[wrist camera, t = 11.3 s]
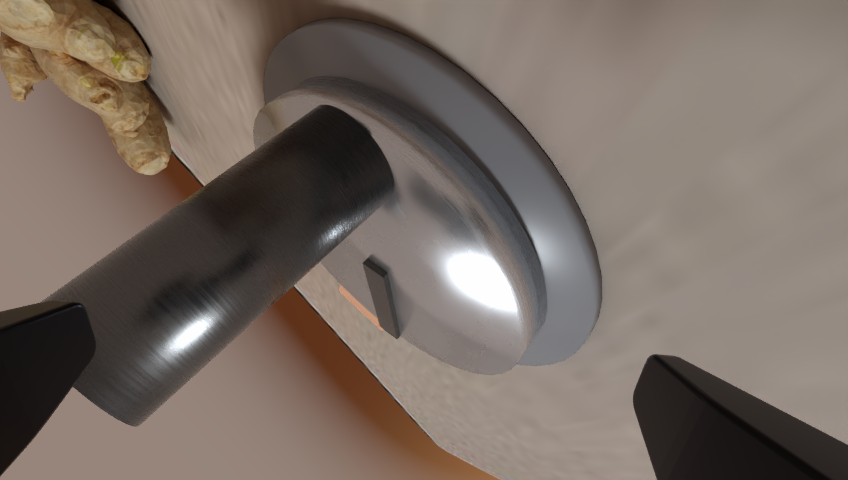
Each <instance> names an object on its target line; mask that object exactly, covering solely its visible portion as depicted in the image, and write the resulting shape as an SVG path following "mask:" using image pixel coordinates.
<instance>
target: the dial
mask: <svg viewBox="0 0 848 480" xmlns="http://www.w3.org/2000/svg"><path fill="white" fill-rule="evenodd" d="M253 133H254V145H255V151H253V152H252V153H251V154H249V155H248V156H246V157H245V158H243V159H242V160H241V161H239V162H238V163H236V164H235V165H234V166H232V167H231V168H229V169H228V170H227V171H225V172H224V173H222V174H221V175H219V176H218V177H217V178H215V179H214V180H212V181H211V182H210V183H208V184H207V185H205V186H204V187H203V188H201V189H200V190H198V191H197V192H196V193H194V194H193V195H191V196H190V197H189V198H187V199H186V200H184V201H183V202H181V203H180V204H179V205H177V206H176V207H174V208H173V209H171V210H170V211H169V212H167V213H166V214H164V215H163V216H162V217H160V218H159V219H157V220H156V221H155V222H153V223H152V224H150V225H149V226H147V227H146V228H145V229H143V230H142V231H140V232H139V233H138V234H136V235H135V236H133V237H132V238H131V239H129V240H128V241H126V242H125V243H123V244H122V245H121V246H119V247H118V248H116V249H115V250H114V251H112V252H111V253H109V254H108V255H107V256H105V257H104V258H102V259H101V260H100V261H98V262H97V263H95V264H94V265H92V266H91V267H90V268H88V269H87V270H86V271H84V272H83V273H81V274H80V275H79V276H77V277H75V278H74V279H73V280H71V281H70V282H69V283H67V284H66V285H64V286H63V287H61V288H60V289H58V290H57V291H56V292H54V293H53V294H51V295H50V296H49V297H47V298H46V299H44V300H43V301H42V302H45V301H50V300H65V301H76V302H79V303H81V304H82V305H83V306H84V307H85V309H86V311H87V314H88V317H89V320H90V323H91V327H92V330H93V333H94V336H95V339H96V351H95V355H94V357H93V359H92V361H91V362H90V364H89V365H88V366H87V368H86V369H85V370H84V372H83V373H82V374H81V376H80V377H79V379H78V380H77V381H76V383H75V384H74V385H73V387H74V388H75V389H77V390H78V391H79V392H80V393H81V394H82V395H84V396H85V397H86V398H87V399H89V400H90V401H91V402H93V403H94V404H95V405H97V406H98V407H99V408H101V409H102V410H104V411H105V412H107V413H108V414H110V415H111V416H113V417H114V418H116V419H118V420H120V421H122V422H124V423H126V424H128V425H131V426H139V425H140V424H142V423H143V422H144V421H145V420H146V419H147V418H148V417H149V416H150V415H151V414H153V413H154V412H155V411H156V410H157V409H158V408H159V407H160V406H161V405H162V404H164V403H165V402H166V401H167V400H168V399H169V398H170V397H171V396H172V395H174V394H175V393H176V392H177V391H178V390H179V389H180V388H181V387H182V386H183V385H185V384H186V383H187V382H188V381H189V380H190V379H191V378H192V377H193V376H194V375H196V374H197V373H198V372H199V371H200V370H201V369H202V368H203V367H204V366H205V365H207V364H208V363H209V362H210V361H211V360H212V359H213V358H214V357H215V356H216V355H218V354H219V353H220V352H221V351H222V350H223V349H224V348H225V347H226V346H227V345H229V343H231V342H232V341H233V340H234V339H235V338H236V337H237V336H238V335H239V334H241V333H242V332H243V331H244V330H245V329H246V328H247V327H248V326H249V325H251V324H252V323H253V322H254V321H255V320H256V319H257V318H258V317H259V316H261V315H262V314H263V313H264V312H265V311H266V310H267V309H268V308H269V307H270V306H272V305H273V304H274V303H275V302H276V301H277V300H278V299H279V298H280V297H281V296H282V295H284V294H285V293H286V292H287V291H288V290H289V289H290V288H291V287H293V286H294V285H295V284H296V283H297V282H298V281H299V280H300V279H301V278H302V277H304V276H305V275H306V274H307V273H308V272H309V271H310V270H311V269H312V268H313V267H315V266H316V265H317V264H318V263H319V262H321V264H322V265H323V266H324V267H325V268H326V269H327V270H328V271H329V273H330V274H331V275H332V276H333V277H334V278H335V279H336V280H337V281H338V282H339V283H340V284H341V285H342V286H343V287H344V288H345V289H346V290H347V291H348V292H349V293H350V294H351V295H352V296H353V297H354V298H355V299H356V300H357V301H358V302H359V303H360V304H362V305H363V306H364V307H365V308H366V309H367V310H368V311H369V312H371V313H372V314H373V315H374V316H375V317H376V318H378V321H379V325H380V327H381V328H383V329H384V330H385V331H387V332H388V333H389V334H391V335H392V336H393V337H395V338H396V339H398V338H399V337H400V336H401V337H402V338H404V339H405V340H407V341H408V342H410V343H411V344H413V345H414V346H416V347H417V348H419V349H421V350H422V351H424V352H426V353H428V354H429V355H431V356H433V357H435V358H437V359H439V360H441V361H443V362H445V363H447V364H449V365H452V366H454V367H456V368H459V369H462V370H465V371H468V372H472V373H477V374H484V375H495V374H502V373H504V372H506V371H509V370H511V369H512V368H513V367H514V366H515V365H516V364H517V363H518V361H519V360H520V358H521V357H522V356H523V354H524V353H525V352H526V350H527V349H528V347H529V346H530V345H531V343H532V342H533V340H534V339H535V338H536V336H537V335H538V334H539V332H540V330H541V328H542V326H543V324H544V322H545V319H546V314H547V290H546V286H545V281H544V276H543V272H542V270H541V267H540V264H539V261H538V258H537V256H536V253H535V251H534V249H533V247H532V245H531V243H530V241H529V239H528V237H527V235H526V233H525V231H524V229H523V227H522V226H521V224H520V223H519V221H518V219H517V218H516V216H515V214H514V213H513V211H512V210H511V208H510V207H509V205H508V204H507V203H506V201H505V200H504V199H503V197H502V196H501V194H500V193H499V192H498V190H497V189H496V188H495V186H494V185H493V184H492V183H491V181H490V180H489V179H488V178H487V177H486V176H485V175H484V173H483V172H482V171H481V170H480V169H479V168H478V167H477V165H476V164H475V163H474V162H473V161H472V160H471V159H470V158H469V157H468V156H467V155H466V154H465V153H464V152H463V151H462V150H461V149H460V148H459V147H458V146H457V145H456V144H455V143H454V142H453V141H452V140H451V139H450V138H448V137H447V136H446V135H445V134H443V133H442V132H441V131H440V130H439V129H437V128H436V127H435V126H434V125H433V124H431V123H430V122H429V121H428V120H426V119H425V118H424V117H422V116H421V115H419V114H418V113H416V112H415V111H413V110H412V109H411V108H409V107H408V106H406V105H405V104H403V103H402V102H400V101H398V100H396V99H395V98H393V97H391V96H389V95H387V94H385V93H384V92H382V91H380V90H378V89H375V88H373V87H370V86H368V85H366V84H363V83H361V82H358V81H354V80H350V79H346V78H343V77H336V76H317V77H311V78H308V79H306V80H304V81H302V82H300V83H298V84H296V85H295V86H293V87H292V88H290V89H289V90H287V91H286V92H284V93H283V94H281V95H280V96H278V97H277V98H275V99H274V100H272V101H271V102H269V103H268V104H266V105H265V106H264V107H263V108H262V109H261V110H260V111H259V112H258V115H257V117H256V119H255V123H254V130H253ZM40 303H41V302H40Z"/></svg>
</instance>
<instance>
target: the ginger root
mask: <svg viewBox="0 0 848 480" xmlns="http://www.w3.org/2000/svg"><path fill="white" fill-rule="evenodd" d="M0 30H1V37H0V65H1V69H2V71H3V73H4V75H5V77H6V79H7V81H8V83H9V85H10V89H11V96H12V98H13V99H14V100H16V101H19V102H22V101H25V98H26V96H27V95H28V94H29V93H30V92H31V91H33V87H32V86H33V85H34V84H35V83H37V82H40V81H42V80H45V79H46V78H47V77H48V78H50V79H51V80H52V81H53V82H54V83H55V84H56V85H57V86H58V87H59V88H60V89H61V90H62V91H63V92H64V93H65V94H66V95H67V96H69V97H70V98H71V99H73V100H74V101H76V102H78V103H80V104H82V105H83V106H86V107H87V108H89V109H91V110H93V111H95V112H96V113H98V114H99V115H100V116H101V118H102V121H103V123H104V125H105V127H106V130H107V132H108V133H109V136H110V138H111V140H112V142H113V144H114V146H115V147H116V149H117V151H118V153H119V154H120V156H122V158H123V159H124V160H125V161H126V163H127V164H128V165H129V166H130V167H131V168H133V169H134V170H135V171H137V172H138V173H142V174H145V175H154V174H156V173H158V172H160V171H161V170H162V169H164V168H166V167H167V162H168V161H169V157H170V154H171V144H170V141H169V136H168V131H167V127H166V125H165V123H164V121H163V118H162V116H161V114H160V112H159V109H158V107H157V105H156V104H155V102H154V101H153V99H152V98H151V96H150V95H149V93H148V91H147V89H146V87H145V85H144V83H143V82H142V80H145V79H146V78H147V77H148V75H149V73H150V71H151V59H150V56H149V54H148V52H147V50H146V48H145V46H144V44H143V42H142V41H141V39H140V37H139V36H138V34H137V33H136V31H135V30H134V29H133V27H132V26H131V25H130V24H129V23H128V22H127V21H125V20H124V19H122V18H121V17H119V16H118V15H117V14H115V13H114V12H113V11H112V10H110V9H109V8H107V7H104V6H102V5H100V4H98V3H96V2H95V1H93V0H0Z"/></svg>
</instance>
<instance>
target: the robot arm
mask: <svg viewBox="0 0 848 480" xmlns="http://www.w3.org/2000/svg"><path fill="white" fill-rule="evenodd" d="M95 351H96V339H95V336H94V333H93V330H92V327H91V323H90V320H89V317H88V314H87V311H86V309H85V307H84V306H83V305H82V304H81V303H79V302H76V301H65V300H50V301H45V302H41V303H37V304H32V305H28V306H23V307H19V308H15V309H10V310H6V311H2V312H0V476H1V475H2V474H3V473H4V472H5V471H6V469H7V468H8V467H9V466H10V465H11V464H12V463H13V462H14V460H15V459H16V458H17V457H18V456H19V455H20V454H21V452H23V450H24V449H25V448H26V447H27V445H29V443H30V442H31V441H32V439H34V437H35V436H36V435H37V433H38V432H39V431H40V430H41V429H42V427H43V426H44V425H45V423H46V422H47V421H48V419H49V418H50V417H51V415H52V414H53V413H54V411H55V410H56V409H57V407H58V406H59V404H60V403H61V402H62V400H63V399H64V398H65V396H66V395H67V394H68V392H69V391H70V389H71V388H72V387H73V385H74V384H75V383H76V381H77V380H78V379H79V377H80V376H81V374H82V373H83V372H84V370H85V369H86V368H87V366H88V365H89V364H90V362H91V361H92V359H93V357H94V355H95ZM633 405H634V410H635V413H636V416H637V419H638V422H639V426H640V429H641V432H642V435H643V438H644V441H645V444H646V447H647V450H648V453H649V456H650V460H651V463H652V466H653V469H654V472H655V475H656V478H657V480H848V445H847V444H845V443H843V442H841V441H839V440H837V439H835V438H833V437H832V436H830V435H828V434H826V433H824V432H822V431H820V430H818V429H816V428H814V427H812V426H810V425H808V424H806V423H805V422H803V421H801V420H799V419H797V418H795V417H793V416H791V415H789V414H787V413H785V412H783V411H781V410H780V409H778V408H776V407H774V406H772V405H770V404H768V403H766V402H764V401H762V400H760V399H758V398H756V397H754V396H753V395H751V394H749V393H747V392H745V391H743V390H741V389H739V388H737V387H735V386H733V385H731V384H729V383H727V382H726V381H724V380H722V379H720V378H718V377H716V376H714V375H712V374H710V373H708V372H706V371H704V370H702V369H700V368H699V367H697V366H695V365H693V364H691V363H689V362H687V361H685V360H683V359H681V358H679V357H676V356H669V355H658V354H654V355H651V356H650V357H649V358H648V359H647V361H646V363H645V365H644V368H643V370H642V373H641V375H640V378H639V380H638V383H637V385H636V388H635V390H634V395H633Z"/></svg>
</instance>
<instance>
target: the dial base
mask: <svg viewBox="0 0 848 480" xmlns="http://www.w3.org/2000/svg"><path fill="white" fill-rule="evenodd" d="M317 76H336V77H343V78H346V79H350V80H354V81H358V82H361V83H363V84H366V85H368V86H370V87H373V88H375V89H378V90H380V91H382V92H384V93H385V94H387V95H389V96H391V97H393V98H395V99H396V100H398V101H400V102H402V103H403V104H405V105H406V106H408V107H409V108H411V109H412V110H413V111H415V112H416V113H418V114H419V115H421V116H422V117H424V118H425V119H426V120H428V121H429V122H430V123H431V124H433V125H434V126H435V127H436V128H437V129H439V130H440V131H441V132H442V133H443V134H445V135H446V136H447V137H448V138H450V139H451V140H452V141H453V142H454V143H455V144H456V145H457V146H458V147H459V148H460V149H461V150H462V151H463V152H464V153H465V154H466V155H467V156H468V157H469V158H470V159H471V160H472V161H473V162H474V163H475V164H476V165H477V167H478V168H479V169H480V170H481V171H482V172H483V173H484V175H485V176H486V177H487V178H488V179H489V180H490V181H491V183H492V184H493V185H494V186H495V188H496V189H497V190H498V192H499V193H500V194H501V196H502V197H503V199H504V200H505V201H506V203H507V204H508V205H509V207H510V208H511V210H512V211H513V213H514V214H515V216H516V218H517V219H518V221H519V223H520V224H521V226H522V227H523V229H524V231H525V233H526V235H527V237H528V239H529V241H530V243H531V245H532V247H533V249H534V251H535V253H536V256H537V258H538V261H539V264H540V267H541V270H542V272H543V276H544V281H545V286H546V290H547V314H546V319H545V322H544V324H543V326H542V328H541V330H540V332H539V334H538V335H537V336H536V338H535V339H534V340H533V342H532V343H531V345H530V346H529V347H528V349H527V350H526V352H525V353H524V354H523V356H522V357H521V358H520V360H519V361H518V363H517V364H518V365H529V366H541V365H551V364H554V363H557V362H561V361H563V360H565V359H567V358H568V357H570V356H572V355H573V354H575V353H576V352H577V351H578V349H579V348H580V347H581V346H582V345H583V344H584V342H585V341H586V339H587V338H588V336H589V335H590V333H591V332H592V330H593V328H594V326H595V324H596V322H597V319H598V317H599V313H600V308H601V302H602V276H601V271H600V266H599V261H598V256H597V252H596V249H595V246H594V243H593V240H592V237H591V235H590V232H589V229H588V226H587V224H586V221H585V219H584V217H583V215H582V213H581V211H580V209H579V207H578V205H577V203H576V201H575V199H574V198H573V196H572V194H571V192H570V190H569V188H568V187H567V185H566V184H565V182H564V181H563V179H562V178H561V176H560V175H559V173H558V172H557V170H556V168H555V167H554V165H553V164H552V162H551V161H550V159H549V158H548V157H547V156H546V154H545V153H544V152H543V151H542V149H541V148H540V147H539V146H538V144H537V143H536V142H535V141H534V139H533V138H532V137H531V136H530V134H529V133H528V132H527V131H526V129H525V128H524V127H523V126H522V125H521V124H520V123H519V122H518V121H517V120H516V119H515V118H514V117H513V116H512V115H511V114H510V113H509V112H508V111H507V109H506V108H505V107H504V106H503V105H502V104H501V103H500V102H499V101H498V100H497V99H496V98H495V97H493V96H492V95H491V94H490V93H489V92H488V91H486V90H485V89H484V88H483V87H482V86H481V85H479V84H478V83H477V82H476V81H475V80H473V79H472V78H471V77H470V76H469V75H468V74H466V73H465V72H464V71H462V70H461V69H459V68H458V67H457V66H455V65H454V64H452V63H451V62H449V61H448V60H446V59H445V58H443V57H442V56H441V55H439V54H438V53H436V52H435V51H433V50H431V49H429V48H427V47H426V46H424V45H422V44H420V43H418V42H416V41H414V40H413V39H411V38H409V37H407V36H405V35H403V34H400V33H398V32H395V31H392V30H390V29H387V28H385V27H382V26H379V25H377V24H373V23H368V22H363V21H359V20H354V19H337V18H328V19H323V20H319V21H314V22H310V23H309V24H307V25H305V26H303V27H301V28H299V29H298V30H296V31H294V32H292V33H291V34H289V35H287V36H286V37H284V38H283V39H282V40H281V41H280V42H279V43H278V44H277V45H276V46H275V47H274V49H273V51H272V53H271V55H270V57H269V59H268V61H267V65H266V69H265V73H264V100H265V105H266V104H268V103H269V102H271V101H272V100H274V99H275V98H277V97H278V96H280V95H281V94H283V93H284V92H286V91H287V90H289V89H290V88H292V87H293V86H295V85H296V84H298V83H300V82H302V81H304V80H306V79H308V78H311V77H317ZM339 292H340V293H341V294H342V295H343V296H345V297H346V298H347V299H348V300H349V301H350V302H351V303H352V304H353V305H354V306H355V307H356V308H358V309H359V310H360V311H361V312H362V313H363V314H364V315H365V316H366V317H367V318H368V319H369V320H371V321H372V322H373V323H374V324H375V325H376V326H377V327H378V328H379V329H380V330H381V331H383V330H384V329H383V328H381V327H380V325H379V321H378V318H376V317H375V316H374V315H373V314H372V313H371V312H369V311H368V310H367V309H366V308H365V307H364V306H363V305H362V304H360V303H359V302H358V301H357V300H356V299H355V298H354V297H353V296H352V295H351V294H350V293H349V292H348V291H347V290H346V289H345V288H344V287H343V286H342V285H341V284H340V289H339Z"/></svg>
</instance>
